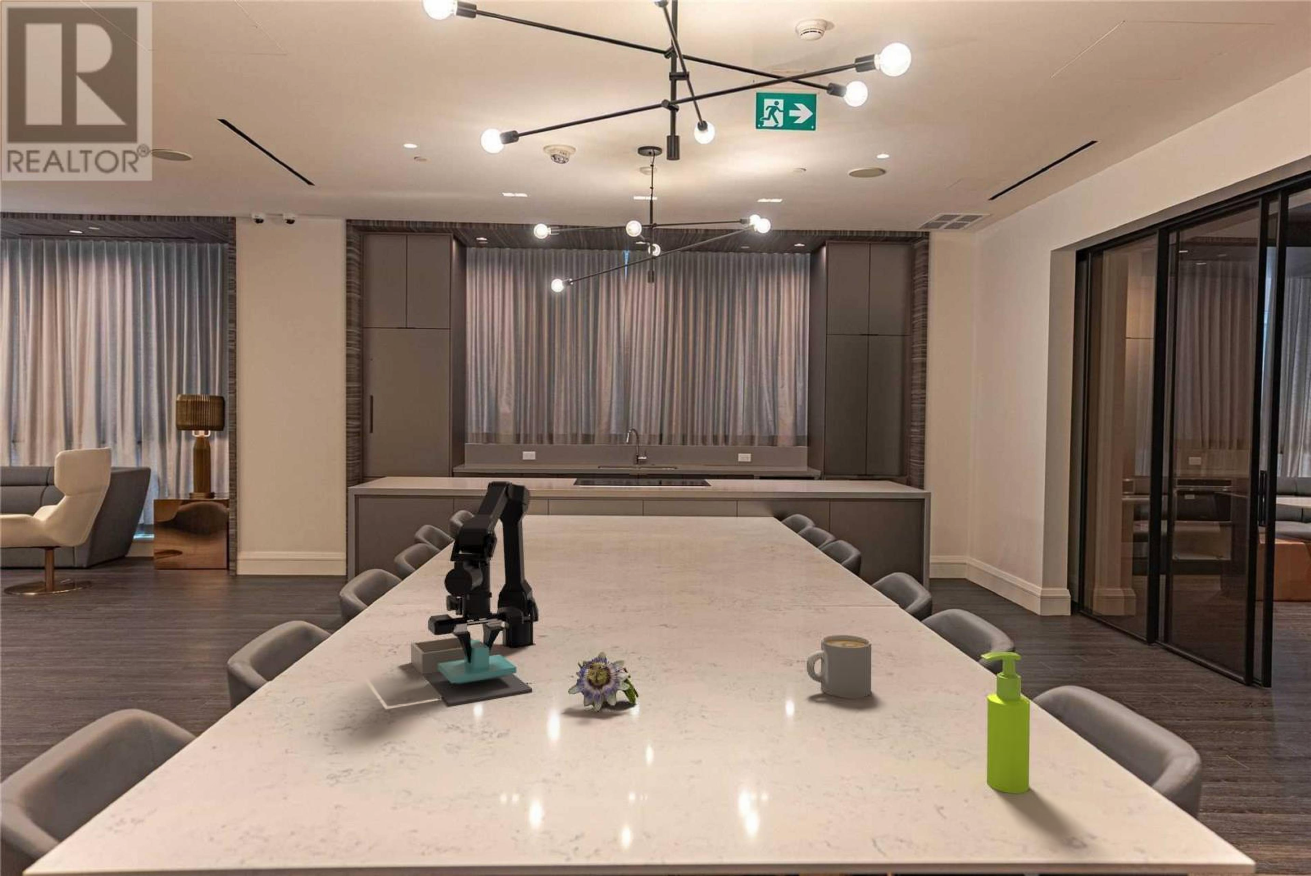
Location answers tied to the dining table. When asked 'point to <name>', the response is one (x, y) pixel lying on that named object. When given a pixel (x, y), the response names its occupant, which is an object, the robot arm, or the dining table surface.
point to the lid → (477, 666)
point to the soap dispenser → (1008, 729)
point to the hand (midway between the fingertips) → (476, 661)
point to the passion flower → (603, 682)
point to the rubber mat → (477, 688)
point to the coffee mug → (843, 666)
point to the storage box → (435, 654)
